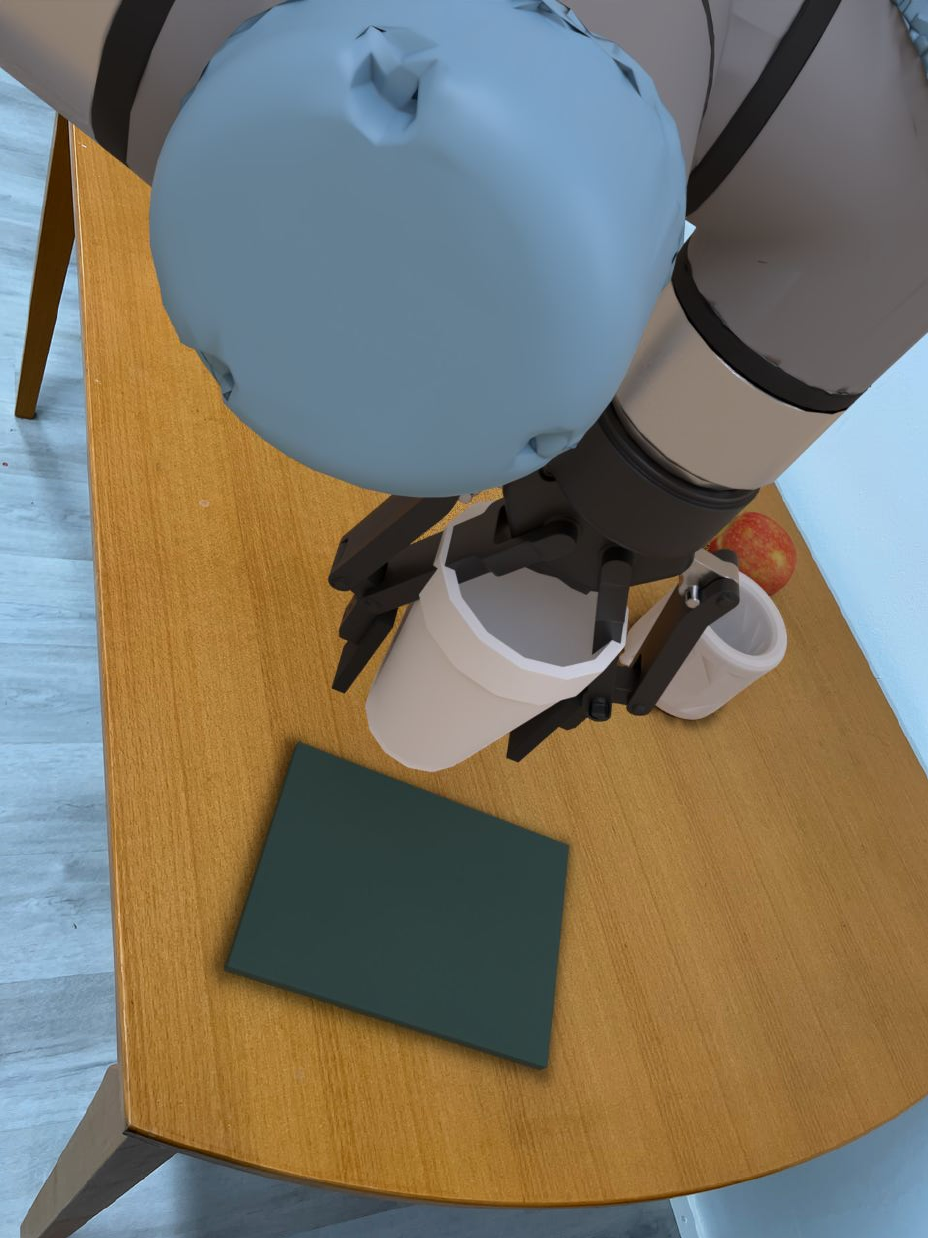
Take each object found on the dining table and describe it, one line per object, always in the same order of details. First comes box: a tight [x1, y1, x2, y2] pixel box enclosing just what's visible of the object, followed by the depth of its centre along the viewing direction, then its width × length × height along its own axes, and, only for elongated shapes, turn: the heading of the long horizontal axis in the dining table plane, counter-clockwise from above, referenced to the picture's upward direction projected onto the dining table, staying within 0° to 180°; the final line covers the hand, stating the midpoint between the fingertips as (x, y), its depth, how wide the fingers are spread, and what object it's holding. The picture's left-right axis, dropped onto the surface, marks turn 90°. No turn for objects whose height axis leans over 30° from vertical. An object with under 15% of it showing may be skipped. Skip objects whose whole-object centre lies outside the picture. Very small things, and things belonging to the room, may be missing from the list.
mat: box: [223, 741, 570, 1071], centre depth 66 cm, size 22×16×1 cm
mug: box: [618, 572, 788, 720], centre depth 86 cm, size 14×11×10 cm
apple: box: [707, 511, 797, 597], centre depth 99 cm, size 8×8×8 cm
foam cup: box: [364, 499, 630, 773], centre depth 47 cm, size 10×9×13 cm
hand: (431, 705), depth 51 cm, fingers closed on foam cup, 9 cm apart
